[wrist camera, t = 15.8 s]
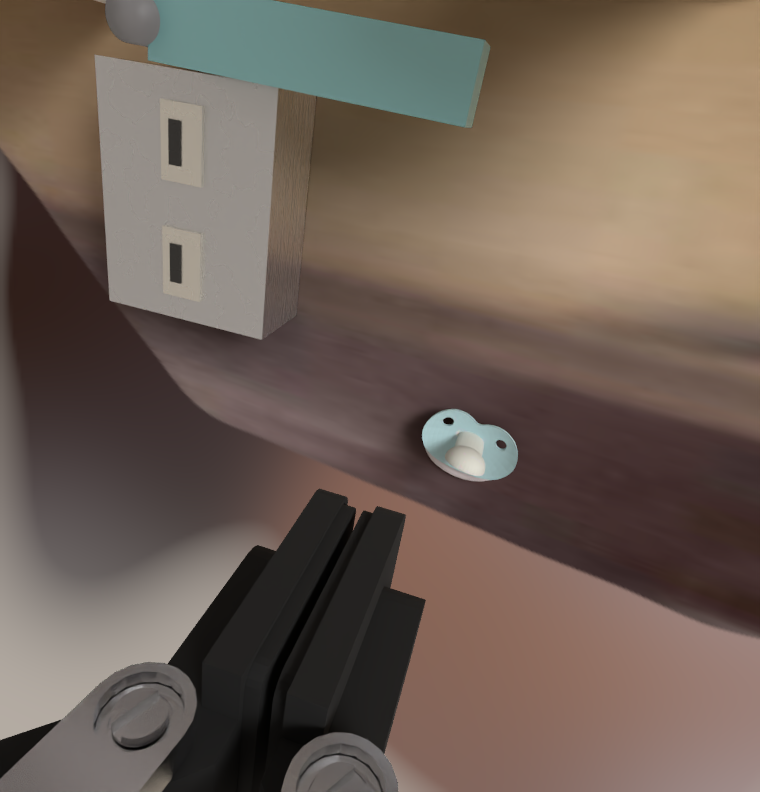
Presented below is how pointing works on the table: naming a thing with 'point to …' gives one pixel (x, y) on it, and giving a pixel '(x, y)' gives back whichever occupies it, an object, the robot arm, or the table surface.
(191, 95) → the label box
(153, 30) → the swing bar
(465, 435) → the pacifier
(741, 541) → the table surface
